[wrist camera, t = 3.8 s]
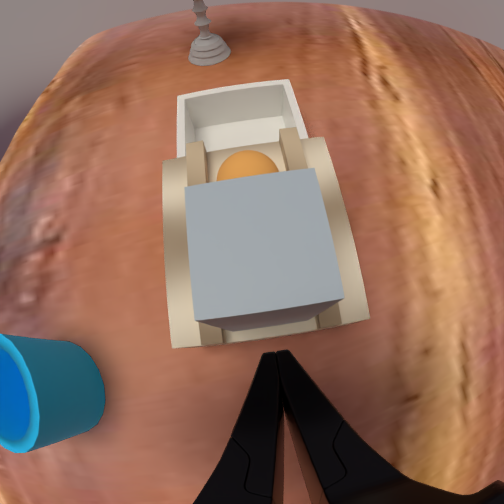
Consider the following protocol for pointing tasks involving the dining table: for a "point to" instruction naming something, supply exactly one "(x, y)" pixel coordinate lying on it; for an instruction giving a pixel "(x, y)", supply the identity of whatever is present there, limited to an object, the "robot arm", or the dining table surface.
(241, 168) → the ball
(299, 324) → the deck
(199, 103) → the white open storage bin
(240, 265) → the grey rectangular block
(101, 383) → the mug
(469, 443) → the dining table surface
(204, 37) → the chalice
